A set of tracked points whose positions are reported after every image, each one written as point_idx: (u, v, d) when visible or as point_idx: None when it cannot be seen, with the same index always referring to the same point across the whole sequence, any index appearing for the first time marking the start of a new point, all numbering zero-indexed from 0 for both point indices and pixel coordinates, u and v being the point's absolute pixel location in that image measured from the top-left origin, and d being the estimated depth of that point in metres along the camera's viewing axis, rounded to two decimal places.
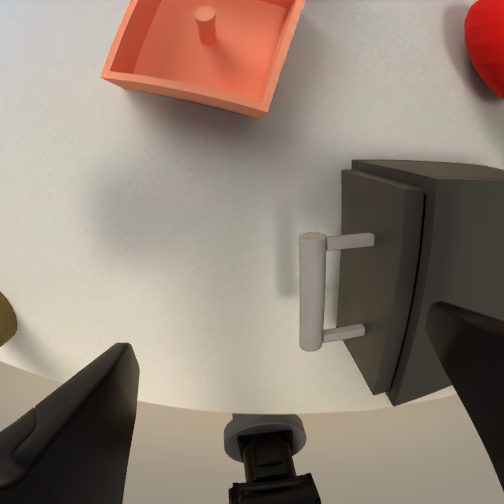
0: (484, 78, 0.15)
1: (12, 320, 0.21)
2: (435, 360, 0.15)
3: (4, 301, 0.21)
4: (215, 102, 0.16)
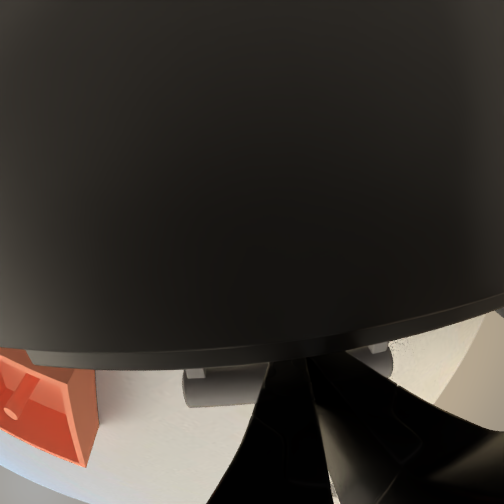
0: None
1: None
2: None
3: None
4: (83, 394, 0.14)
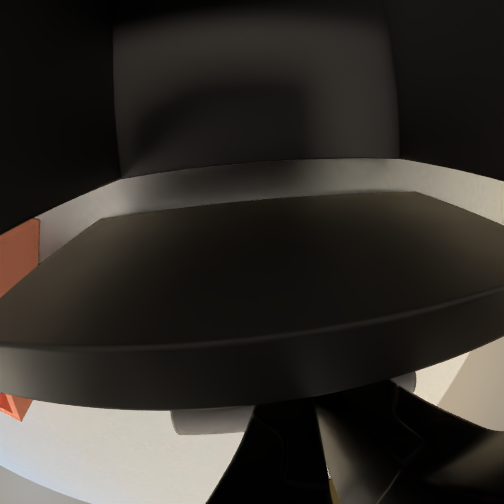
0: None
1: None
2: None
3: None
4: None
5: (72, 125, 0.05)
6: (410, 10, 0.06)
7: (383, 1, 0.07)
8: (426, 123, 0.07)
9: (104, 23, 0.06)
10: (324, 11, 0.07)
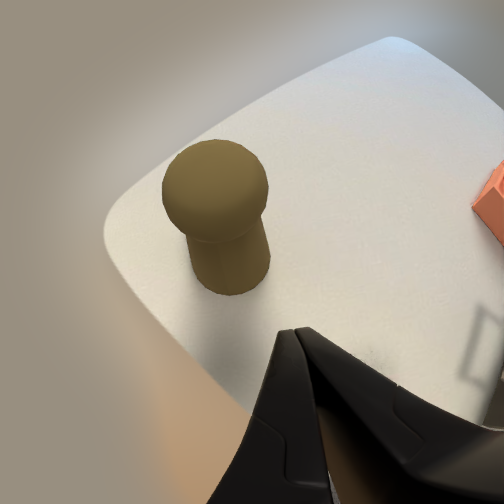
0: None
1: (260, 278, 0.22)
2: None
3: (269, 255, 0.23)
4: None
5: None
6: None
7: None
8: None
9: None
10: None
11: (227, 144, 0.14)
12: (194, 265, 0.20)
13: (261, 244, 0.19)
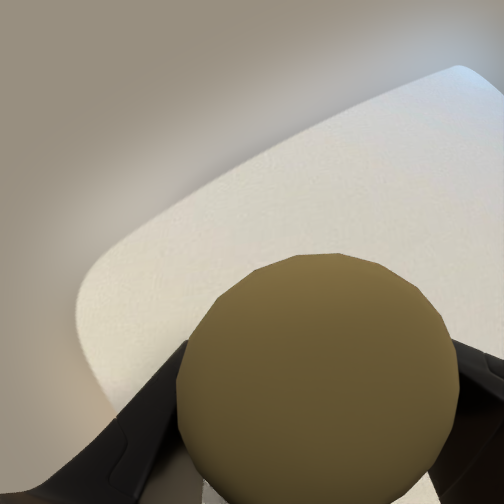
0: None
1: None
2: None
3: None
4: None
5: None
6: None
7: None
8: None
9: None
10: None
11: (393, 289, 0.04)
12: None
13: None
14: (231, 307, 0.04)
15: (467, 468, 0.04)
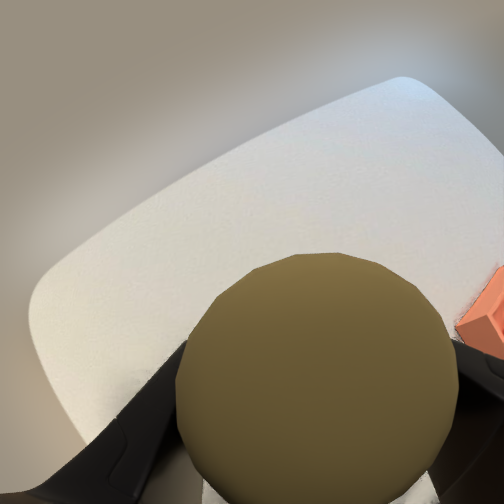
0: None
1: None
2: None
3: None
4: None
5: None
6: None
7: None
8: None
9: None
10: None
11: (392, 288, 0.04)
12: None
13: None
14: (230, 306, 0.04)
15: (467, 468, 0.04)
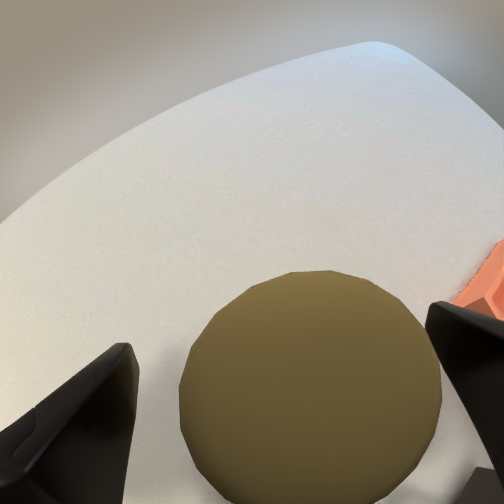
0: None
1: None
2: None
3: None
4: None
5: None
6: None
7: None
8: None
9: None
10: None
11: (379, 306, 0.05)
12: None
13: None
14: (229, 322, 0.05)
15: None
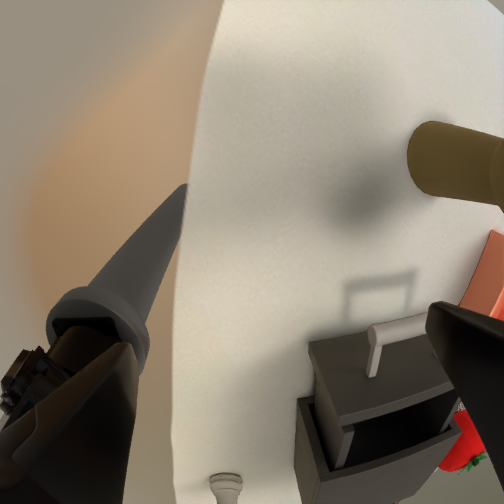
0: None
1: (434, 195, 0.20)
2: (356, 483, 0.18)
3: None
4: (480, 301, 0.22)
5: None
6: None
7: None
8: None
9: None
10: None
11: None
12: (432, 144, 0.17)
13: None
14: None
15: None
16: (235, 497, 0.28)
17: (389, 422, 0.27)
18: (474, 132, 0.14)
